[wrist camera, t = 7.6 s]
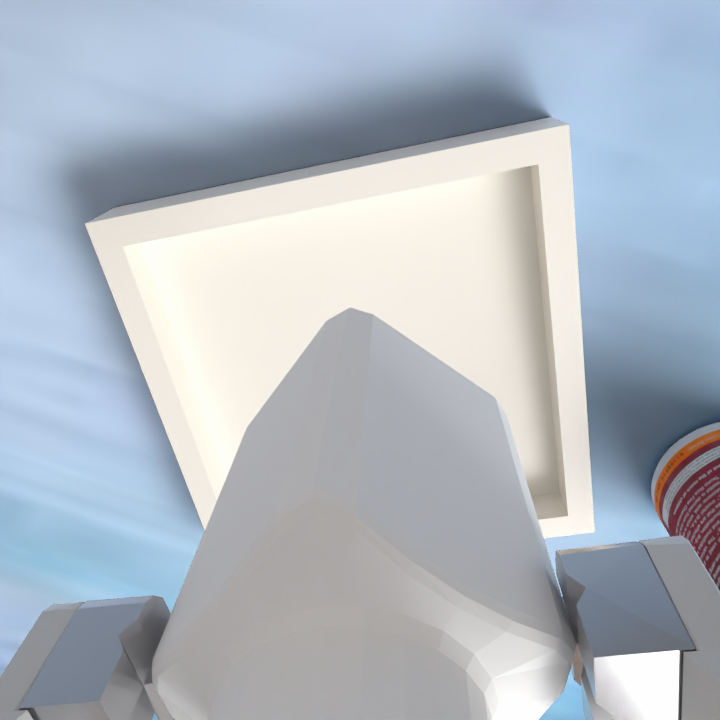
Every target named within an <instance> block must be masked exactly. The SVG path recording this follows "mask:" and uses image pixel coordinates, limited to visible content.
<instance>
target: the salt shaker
mask: <svg viewBox="0 0 720 720" xmlns="http://www.w3.org/2000/svg"><path fill="white" fill-rule="evenodd" d="M575 651H576V642H575V639H574V636H573V633H572V629H571V626H570V623H569V619H568V616H567V613H566V610H565V606H564V603H563V600H562V596H561V593H560V590H559V587H558V583H557V580H556V577H555V573H554V570H553V567H552V564H551V560H550V557H549V554H548V550H547V547H546V544H545V540H544V537H543V534H542V531H541V527H540V524H539V521H538V517H537V514H536V511H535V508H534V504H533V501H532V498H531V494H530V491H529V488H528V485H527V481H526V478H525V475H524V471H523V468H522V465H521V461H520V458H519V455H518V452H517V448H516V445H515V442H514V438H513V435H512V432H511V429H510V425H509V422H508V419H507V416H506V414H505V413H504V411H503V409H502V408H501V406H500V404H499V403H498V401H497V399H496V398H495V397H494V396H492V395H491V394H489V393H488V392H486V391H485V390H483V389H482V388H480V387H479V386H478V385H476V384H475V383H473V382H472V381H470V380H469V379H467V378H466V377H464V376H463V375H461V374H460V373H459V372H457V371H456V370H454V369H453V368H451V367H450V366H448V365H447V364H445V363H444V362H442V361H441V360H439V359H438V358H437V357H435V356H434V355H432V354H431V353H429V352H428V351H426V350H425V349H423V348H422V347H420V346H419V345H418V344H416V343H415V342H413V341H412V340H410V339H409V338H407V337H406V336H404V335H403V334H401V333H400V332H398V331H397V330H396V329H394V328H393V327H391V326H390V325H388V324H387V323H385V322H384V321H382V320H381V319H379V318H378V317H376V316H375V315H374V314H370V313H367V312H363V311H360V310H357V309H354V308H351V307H350V308H348V309H346V310H344V311H343V312H341V313H339V314H337V315H336V316H334V317H332V318H331V319H329V320H327V321H326V322H325V323H324V325H323V326H322V327H321V329H320V330H319V331H318V333H317V334H316V335H315V337H314V338H313V339H312V341H311V342H310V343H309V345H308V346H307V348H306V349H305V350H304V352H303V353H302V354H301V356H300V357H299V358H298V360H297V361H296V362H295V364H294V365H293V366H292V368H291V369H290V370H289V372H288V373H287V374H286V376H285V377H284V378H283V380H282V381H281V382H280V384H279V385H278V386H277V388H276V389H275V391H274V392H273V393H272V395H271V396H270V397H269V399H268V400H267V401H266V403H265V404H264V405H263V407H262V408H261V409H260V411H259V412H258V413H257V415H256V416H255V417H254V419H253V420H252V421H251V423H250V424H249V426H248V427H247V428H246V431H245V433H244V436H243V438H242V440H241V443H240V445H239V448H238V450H237V453H236V455H235V458H234V460H233V463H232V465H231V468H230V470H229V472H228V475H227V477H226V480H225V482H224V485H223V487H222V490H221V492H220V495H219V497H218V500H217V502H216V504H215V507H214V509H213V512H212V514H211V517H210V519H209V522H208V524H207V527H206V529H205V532H204V534H203V537H202V539H201V541H200V544H199V546H198V549H197V551H196V554H195V556H194V559H193V561H192V564H191V566H190V569H189V571H188V573H187V576H186V578H185V581H184V583H183V586H182V588H181V591H180V593H179V596H178V598H177V601H176V603H175V605H174V608H173V610H172V613H171V615H170V618H169V620H168V623H167V625H166V628H165V630H164V633H163V635H162V637H161V640H160V642H159V645H158V647H157V650H156V652H155V655H154V657H153V661H152V683H153V686H154V688H155V689H156V691H157V693H158V694H159V696H160V698H161V699H162V701H163V702H164V704H165V706H166V707H167V709H168V711H169V712H170V714H171V715H172V717H173V718H174V719H175V720H538V719H539V718H540V717H541V716H542V715H543V713H544V712H545V711H546V710H547V709H548V708H549V707H550V706H551V704H552V703H553V702H554V701H555V700H556V699H557V698H558V697H559V695H560V694H561V693H562V692H563V691H564V688H565V685H566V682H567V679H568V675H569V672H570V669H571V666H572V663H573V660H574V656H575Z"/></svg>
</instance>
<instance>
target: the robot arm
mask: <svg viewBox="0 0 720 720" xmlns="http://www.w3.org/2000/svg"><path fill="white" fill-rule="evenodd" d="M555 560H556V574H557V578H558V581H559V585H560V588H561V591H562V595H563V596H562V600H563V603H564V606H565V610H566V613H567V616H568V619H569V623H570V626H571V629H572V633H573V636H574V639H575V642H576V651H575V656H574V660H573V663H572V666H571V670H572V674H573V678H574V680H575V681H576V682H577V683H578V684H579V685H580V686H582V698H583V710H584V717H585V720H720V591H719V589H718V587H717V586H716V584H715V582H714V581H713V579H712V578H711V576H710V574H709V573H708V571H707V569H706V568H705V566H704V564H703V563H702V561H701V560H700V558H699V556H698V555H697V553H696V551H695V550H694V548H693V546H692V545H691V543H690V542H689V540H687V539H686V538H685V537H683V536H682V535H680V536H672V537H664V538H656V539H648V540H640V541H639V542H636V541H635V542H626V543H618V544H609V545H601V546H592V547H584V548H576V549H567V550H559V551H556V559H555ZM170 615H171V613H170V611H169V609H168V607H167V605H166V603H165V601H164V599H163V597H158V596H154V595H152V596H140V597H128V598H116V599H104V600H92V601H86V602H79V603H66V604H54V605H52V606H51V607H49V608H48V609H46V610H45V611H43V612H42V613H41V615H40V616H39V618H38V620H37V621H36V623H35V624H34V626H33V627H32V629H31V630H30V632H29V634H28V635H27V637H26V638H25V640H24V641H23V643H22V644H21V646H20V647H19V649H18V651H17V652H16V654H15V655H14V657H13V658H12V660H11V661H10V663H9V665H8V666H7V668H6V669H5V671H4V672H3V674H2V675H1V677H0V720H175V719H174V718H173V717H172V715H171V714H170V712H169V711H168V709H167V707H166V706H165V704H164V702H163V701H162V699H161V698H160V696H159V694H158V693H157V691H156V689H155V688H154V686H153V683H152V661H153V657H154V655H155V652H156V650H157V647H158V645H159V642H160V640H161V637H162V635H163V633H164V630H165V628H166V625H167V623H168V620H169V618H170Z"/></svg>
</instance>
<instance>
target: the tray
mask: <svg viewBox="0 0 720 720" xmlns="http://www.w3.org/2000/svg"><path fill="white" fill-rule="evenodd" d="M85 226H86V228H87V231H88V233H89V236H90V238H91V241H92V243H93V246H94V249H95V251H96V254H97V256H98V259H99V261H100V264H101V266H102V269H103V272H104V274H105V277H106V279H107V282H108V284H109V287H110V289H111V292H112V295H113V297H114V300H115V302H116V305H117V307H118V310H119V312H120V315H121V318H122V320H123V323H124V325H125V328H126V330H127V333H128V335H129V338H130V341H131V343H132V346H133V348H134V351H135V353H136V356H137V358H138V361H139V364H140V366H141V369H142V371H143V374H144V376H145V379H146V381H147V384H148V387H149V389H150V392H151V394H152V397H153V399H154V402H155V404H156V407H157V410H158V412H159V415H160V417H161V420H162V422H163V425H164V428H165V430H166V433H167V435H168V438H169V440H170V443H171V445H172V448H173V451H174V453H175V456H176V458H177V461H178V463H179V466H180V468H181V471H182V474H183V476H184V479H185V481H186V484H187V486H188V489H189V491H190V494H191V497H192V499H193V502H194V504H195V507H196V509H197V512H198V514H199V517H200V520H201V522H202V525H203V527H204V530H205V529H206V527H207V524H208V522H209V519H210V517H211V514H212V512H213V509H214V507H215V504H216V502H217V500H218V497H219V495H220V492H221V490H222V487H223V485H224V482H225V480H226V477H227V475H228V472H229V470H230V468H231V465H232V463H233V460H234V458H235V455H236V453H237V450H238V448H239V445H240V443H241V440H242V438H243V436H244V433H245V431H246V428H247V427H248V426H249V424H250V423H251V421H252V420H253V419H254V417H255V416H256V415H257V413H258V412H259V411H260V409H261V408H262V407H263V405H264V404H265V403H266V401H267V400H268V399H269V397H270V396H271V395H272V393H273V392H274V391H275V389H276V388H277V386H278V385H279V384H280V382H281V381H282V380H283V378H284V377H285V376H286V374H287V373H288V372H289V370H290V369H291V368H292V366H293V365H294V364H295V362H296V361H297V360H298V358H299V357H300V356H301V354H302V353H303V352H304V350H305V349H306V348H307V346H308V345H309V343H310V342H311V341H312V339H313V338H314V337H315V335H316V334H317V333H318V331H319V330H320V329H321V327H322V326H323V325H324V323H325V322H326V321H327V320H329V319H331V318H332V317H334V316H336V315H337V314H339V313H341V312H343V311H344V310H346V309H348V308H350V307H351V308H354V309H357V310H360V311H363V312H367V313H370V314H374V315H375V316H376V317H378V318H379V319H381V320H382V321H384V322H385V323H387V324H388V325H390V326H391V327H393V328H394V329H396V330H397V331H398V332H400V333H401V334H403V335H404V336H406V337H407V338H409V339H410V340H412V341H413V342H415V343H416V344H418V345H419V346H420V347H422V348H423V349H425V350H426V351H428V352H429V353H431V354H432V355H434V356H435V357H437V358H438V359H439V360H441V361H442V362H444V363H445V364H447V365H448V366H450V367H451V368H453V369H454V370H456V371H457V372H459V373H460V374H461V375H463V376H464V377H466V378H467V379H469V380H470V381H472V382H473V383H475V384H476V385H478V386H479V387H480V388H482V389H483V390H485V391H486V392H488V393H489V394H491V395H492V396H494V397H495V398H496V399H497V401H498V403H499V404H500V406H501V408H502V409H503V411H504V413H505V414H506V416H507V419H508V422H509V425H510V429H511V432H512V435H513V438H514V442H515V445H516V448H517V452H518V455H519V458H520V461H521V465H522V468H523V471H524V475H525V478H526V481H527V485H528V488H529V491H530V494H531V498H532V501H533V504H534V508H535V511H536V514H537V517H538V521H539V524H540V527H541V531H542V534H543V537H544V538H551V537H559V536H567V535H576V534H584V533H592V532H595V528H594V512H593V496H592V480H591V465H590V449H589V433H588V417H587V401H586V385H585V369H584V354H583V338H582V322H581V306H580V290H579V274H578V258H577V243H576V227H575V211H574V195H573V179H572V163H571V147H570V132H569V124H567V123H565V122H562V121H560V120H557V119H555V118H552V117H549V118H544V119H539V120H534V121H529V122H524V123H520V124H515V125H510V126H505V127H500V128H496V129H491V130H486V131H481V132H476V133H471V134H467V135H462V136H457V137H452V138H447V139H443V140H438V141H433V142H428V143H423V144H418V145H414V146H409V147H404V148H399V149H394V150H390V151H385V152H380V153H375V154H370V155H365V156H361V157H356V158H351V159H346V160H341V161H337V162H332V163H327V164H322V165H317V166H312V167H308V168H303V169H298V170H293V171H288V172H284V173H279V174H274V175H269V176H264V177H259V178H255V179H250V180H245V181H240V182H235V183H231V184H226V185H221V186H216V187H211V188H206V189H202V190H197V191H192V192H187V193H182V194H177V195H173V196H168V197H163V198H158V199H153V200H149V201H144V202H139V203H134V204H129V205H124V206H120V207H115V208H113V209H111V210H109V211H107V212H105V213H104V214H102V215H100V216H98V217H96V218H94V219H92V220H91V221H89V222H87V223H85Z"/></svg>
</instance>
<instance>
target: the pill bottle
mask: <svg viewBox="0 0 720 720" xmlns="http://www.w3.org/2000/svg"><path fill="white" fill-rule="evenodd" d="M651 495H652V501H653V504H654V507H655V510H656V512H657V514H658V516H659V518H660V520H661V522H662V523H663V525H664V527H665V528H666V530H667V532H668V533H669V535H670V537H672V536H680V535H682V536H683V537H685V538H686V539H687V540H689V542H690V543H691V545H692V546H693V548H694V550H695V551H696V553H697V555H698V556H699V558H700V560H701V561H702V563H703V564H704V566H705V568H706V569H707V571H708V573H709V574H710V576H711V578H712V579H713V581H714V582H715V584H716V586H717V587H718V589H719V591H720V422H718V423H713V424H710V425H706V426H704V427H701V428H699V429H697V430H695V431H693V432H691V433H689V434H687V435H686V436H684V437H683V438H681V439H680V440H678V441H677V442H676V443H674V444H673V445H672V446H671V447H670V448H669V449H668V450H667V451H666V453H665V454H664V455H663V457H662V458H661V460H660V461H659V463H658V465H657V467H656V469H655V472H654V475H653V478H652V484H651Z"/></svg>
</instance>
